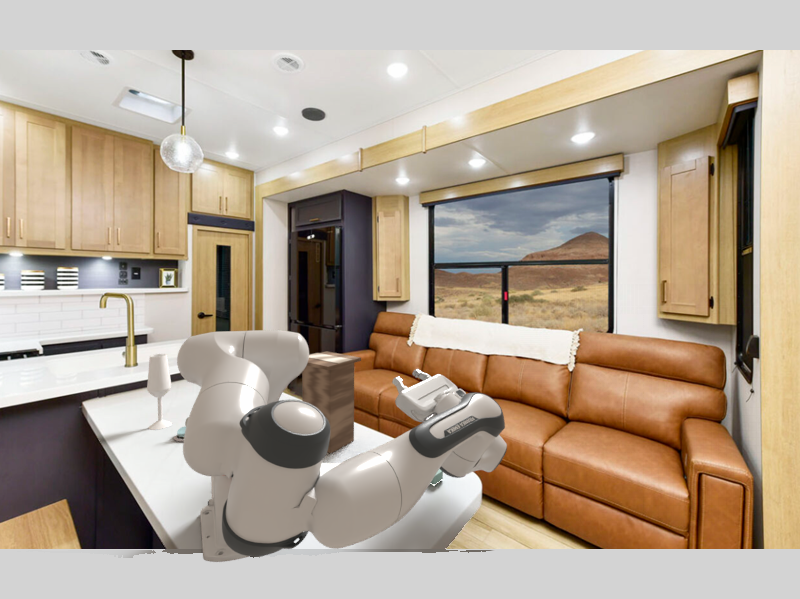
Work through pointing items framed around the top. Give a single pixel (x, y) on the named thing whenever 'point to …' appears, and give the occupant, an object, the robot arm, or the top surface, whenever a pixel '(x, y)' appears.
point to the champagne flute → (159, 385)
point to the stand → (332, 393)
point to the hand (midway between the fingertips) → (405, 374)
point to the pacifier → (181, 432)
